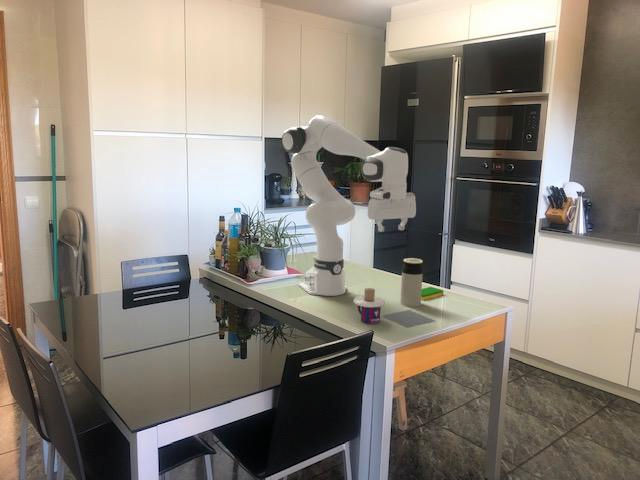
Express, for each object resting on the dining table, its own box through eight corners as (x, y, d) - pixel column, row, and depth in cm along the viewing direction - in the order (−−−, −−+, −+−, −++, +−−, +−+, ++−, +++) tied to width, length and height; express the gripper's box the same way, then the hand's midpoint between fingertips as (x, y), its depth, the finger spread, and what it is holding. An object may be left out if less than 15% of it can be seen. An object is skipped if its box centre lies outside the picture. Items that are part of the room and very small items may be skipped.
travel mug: (423, 306, 204) (427, 262, 200) (405, 308, 201) (408, 262, 198) (414, 300, 211) (417, 257, 208) (396, 302, 209) (399, 258, 206)
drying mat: (380, 316, 191) (381, 315, 190) (409, 310, 198) (409, 309, 198) (406, 328, 179) (407, 327, 179) (436, 321, 187) (436, 320, 187)
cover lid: (347, 300, 186) (348, 287, 185) (371, 296, 192) (372, 283, 191) (366, 309, 177) (367, 295, 176) (391, 304, 183) (391, 291, 182)
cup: (368, 326, 180) (368, 307, 179) (352, 317, 189) (352, 299, 187) (383, 323, 183) (384, 305, 182) (367, 315, 192) (368, 297, 191)
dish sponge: (409, 297, 218) (409, 291, 217) (430, 291, 226) (430, 286, 226) (423, 301, 212) (423, 295, 212) (443, 295, 221) (444, 290, 221)
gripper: (409, 191, 195) (407, 227, 198) (366, 192, 184) (363, 230, 187) (421, 193, 190) (418, 230, 193) (377, 194, 179) (374, 233, 182)
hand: (391, 230), depth 190 cm, fingers open, 8 cm apart
